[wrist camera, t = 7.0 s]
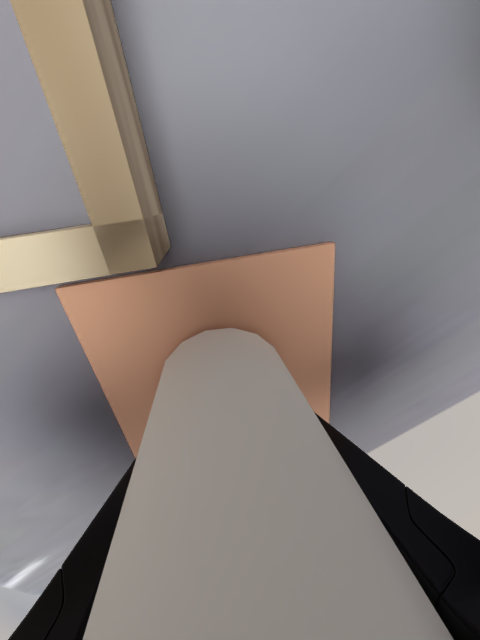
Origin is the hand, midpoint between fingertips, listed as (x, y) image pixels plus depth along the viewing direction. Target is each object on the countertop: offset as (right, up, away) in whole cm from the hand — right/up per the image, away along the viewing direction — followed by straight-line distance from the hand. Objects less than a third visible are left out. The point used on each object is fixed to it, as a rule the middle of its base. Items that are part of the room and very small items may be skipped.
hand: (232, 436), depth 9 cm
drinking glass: (-1, +1, +3) cm, 3 cm away
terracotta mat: (-1, +2, +4) cm, 4 cm away
